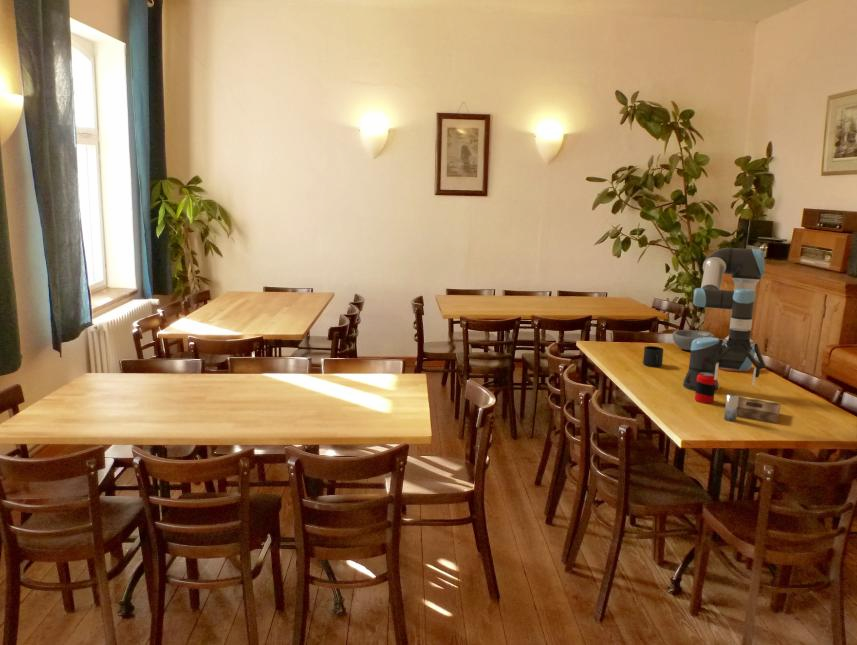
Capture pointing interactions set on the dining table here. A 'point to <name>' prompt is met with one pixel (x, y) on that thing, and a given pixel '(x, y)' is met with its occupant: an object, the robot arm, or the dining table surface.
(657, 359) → the mug
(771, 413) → the jig
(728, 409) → the bushing
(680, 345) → the bowl
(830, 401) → the dining table surface
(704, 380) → the soda can
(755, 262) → the robot arm
